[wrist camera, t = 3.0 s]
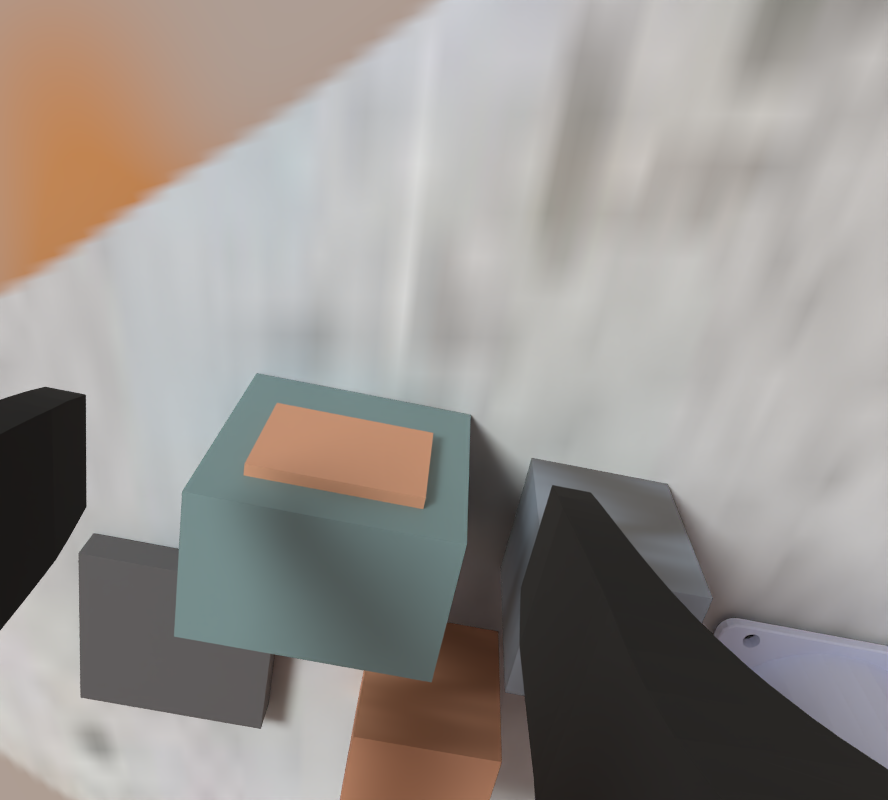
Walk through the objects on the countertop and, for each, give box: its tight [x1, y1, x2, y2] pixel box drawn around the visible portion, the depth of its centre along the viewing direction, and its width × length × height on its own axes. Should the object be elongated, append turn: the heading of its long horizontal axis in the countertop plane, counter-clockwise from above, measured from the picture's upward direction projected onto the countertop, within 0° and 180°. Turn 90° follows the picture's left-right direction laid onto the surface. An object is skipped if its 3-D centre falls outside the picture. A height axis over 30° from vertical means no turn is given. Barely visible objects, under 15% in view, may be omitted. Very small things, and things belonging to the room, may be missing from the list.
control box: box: [174, 373, 471, 682], centre depth 20 cm, size 6×5×6 cm
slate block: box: [501, 458, 713, 696], centre depth 21 cm, size 4×4×5 cm
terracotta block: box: [340, 622, 502, 800], centre depth 24 cm, size 4×4×5 cm
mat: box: [79, 534, 275, 729], centre depth 25 cm, size 6×6×1 cm
